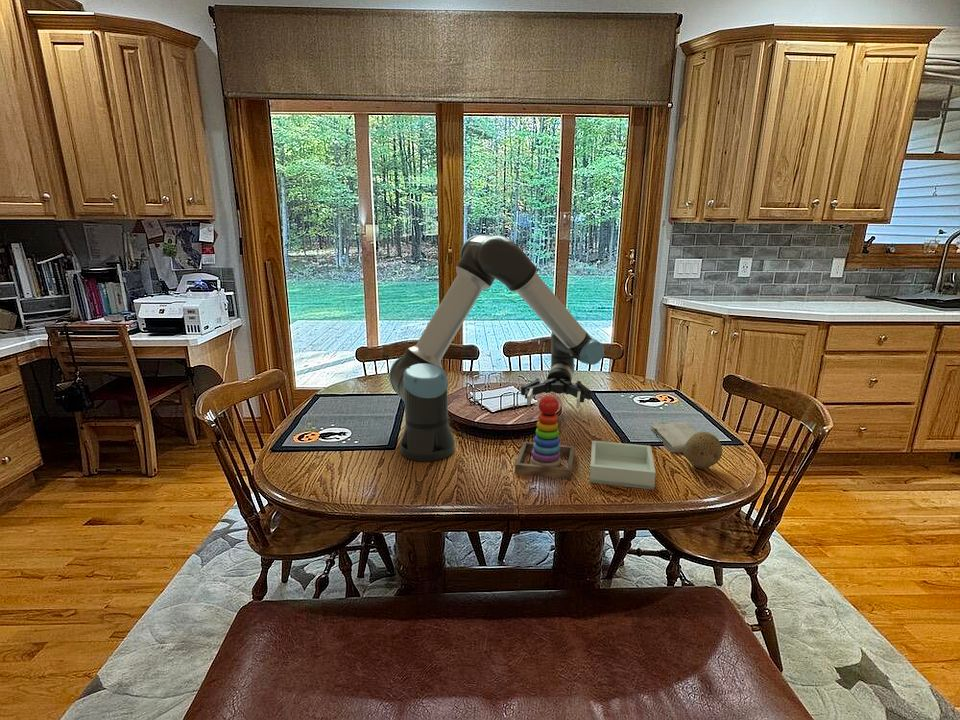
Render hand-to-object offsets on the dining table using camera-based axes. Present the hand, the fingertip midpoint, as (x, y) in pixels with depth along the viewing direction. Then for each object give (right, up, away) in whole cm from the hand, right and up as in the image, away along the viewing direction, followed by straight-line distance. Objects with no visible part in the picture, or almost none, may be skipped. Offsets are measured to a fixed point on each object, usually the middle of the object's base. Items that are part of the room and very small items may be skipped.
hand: (552, 402), depth 141 cm
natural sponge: (+36, -17, -10) cm, 41 cm away
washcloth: (+38, -12, +8) cm, 41 cm away
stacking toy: (-3, -16, -7) cm, 17 cm away
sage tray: (+16, -17, -11) cm, 25 cm away
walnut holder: (-3, -16, -7) cm, 17 cm away
